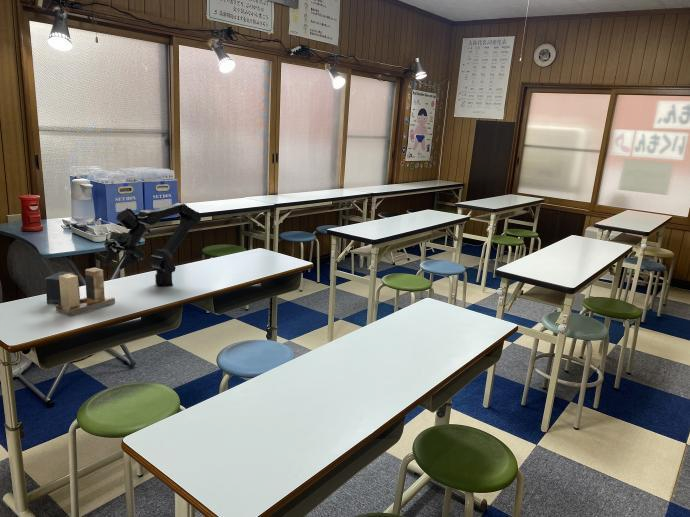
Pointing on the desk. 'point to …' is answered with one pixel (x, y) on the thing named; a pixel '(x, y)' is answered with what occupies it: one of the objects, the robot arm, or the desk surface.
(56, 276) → the small box
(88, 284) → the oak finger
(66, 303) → the rail
